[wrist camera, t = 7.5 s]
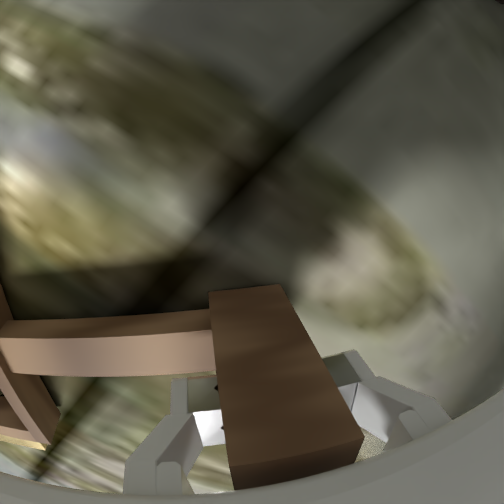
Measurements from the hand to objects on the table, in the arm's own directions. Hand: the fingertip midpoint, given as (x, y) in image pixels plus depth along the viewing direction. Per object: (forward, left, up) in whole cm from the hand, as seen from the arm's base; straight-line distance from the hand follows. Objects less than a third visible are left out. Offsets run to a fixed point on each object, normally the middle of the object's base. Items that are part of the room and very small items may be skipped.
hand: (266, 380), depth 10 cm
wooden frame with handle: (+11, 0, -4) cm, 12 cm away
